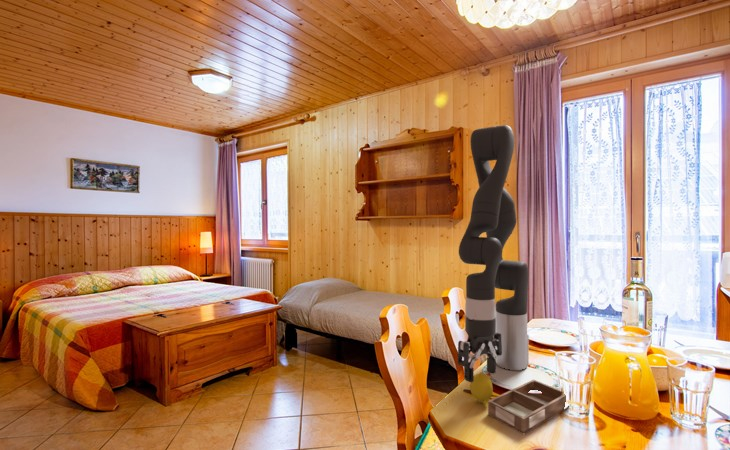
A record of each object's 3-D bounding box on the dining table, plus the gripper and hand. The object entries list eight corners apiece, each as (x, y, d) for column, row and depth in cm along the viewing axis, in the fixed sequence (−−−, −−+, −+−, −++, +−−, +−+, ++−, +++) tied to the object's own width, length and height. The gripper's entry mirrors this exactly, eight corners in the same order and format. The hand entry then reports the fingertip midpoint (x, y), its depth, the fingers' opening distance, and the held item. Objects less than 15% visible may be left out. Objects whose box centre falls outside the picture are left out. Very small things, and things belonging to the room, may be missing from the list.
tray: (533, 392, 103) (533, 379, 103) (569, 407, 95) (569, 394, 95) (487, 415, 93) (487, 401, 93) (524, 434, 85) (524, 419, 84)
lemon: (494, 409, 95) (493, 378, 95) (471, 407, 96) (471, 376, 96) (491, 398, 101) (491, 368, 100) (469, 396, 102) (469, 367, 101)
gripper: (486, 307, 104) (486, 365, 105) (449, 315, 96) (450, 378, 97) (510, 313, 98) (510, 375, 99) (473, 323, 90) (473, 390, 91)
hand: (480, 376), depth 98 cm, fingers open, 8 cm apart
